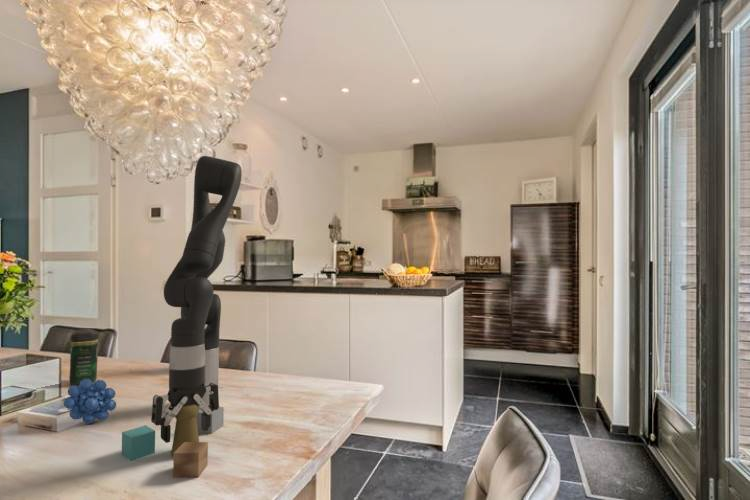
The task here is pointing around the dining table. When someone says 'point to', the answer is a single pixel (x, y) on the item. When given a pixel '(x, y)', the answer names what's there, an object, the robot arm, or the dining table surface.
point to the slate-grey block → (212, 420)
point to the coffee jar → (83, 356)
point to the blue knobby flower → (90, 401)
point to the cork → (185, 426)
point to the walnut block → (190, 460)
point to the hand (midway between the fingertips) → (186, 435)
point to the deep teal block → (138, 442)
